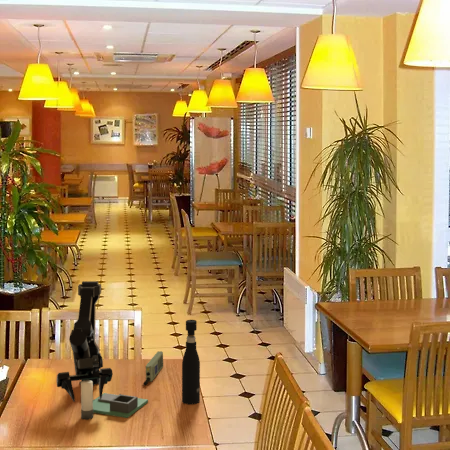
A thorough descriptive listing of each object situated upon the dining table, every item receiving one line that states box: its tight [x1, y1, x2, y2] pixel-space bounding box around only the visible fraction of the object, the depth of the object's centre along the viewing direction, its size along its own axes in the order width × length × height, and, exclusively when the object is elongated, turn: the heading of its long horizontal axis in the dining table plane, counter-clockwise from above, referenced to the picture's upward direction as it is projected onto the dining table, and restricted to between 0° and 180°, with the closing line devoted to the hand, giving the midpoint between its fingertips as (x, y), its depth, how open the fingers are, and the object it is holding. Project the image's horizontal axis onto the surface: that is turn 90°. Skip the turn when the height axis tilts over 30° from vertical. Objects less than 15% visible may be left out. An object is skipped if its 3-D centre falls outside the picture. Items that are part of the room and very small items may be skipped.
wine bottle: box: [181, 319, 201, 406], centre depth 275 cm, size 6×6×30 cm
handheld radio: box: [143, 350, 164, 386], centre depth 304 cm, size 7×3×25 cm
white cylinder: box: [80, 380, 94, 421], centre depth 261 cm, size 4×4×12 cm
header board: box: [93, 392, 149, 419], centre depth 271 cm, size 18×16×4 cm
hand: (87, 399), depth 259 cm, fingers open, 9 cm apart
